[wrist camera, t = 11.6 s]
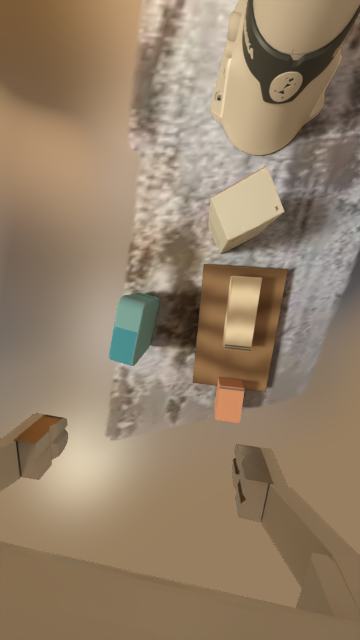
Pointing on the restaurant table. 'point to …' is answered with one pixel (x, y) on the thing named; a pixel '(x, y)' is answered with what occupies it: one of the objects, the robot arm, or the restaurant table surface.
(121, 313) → the data package
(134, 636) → the robot arm
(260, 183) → the small box
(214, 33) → the restaurant table surface
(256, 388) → the board
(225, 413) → the orange rectangular block
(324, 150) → the restaurant table surface
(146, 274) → the restaurant table surface
